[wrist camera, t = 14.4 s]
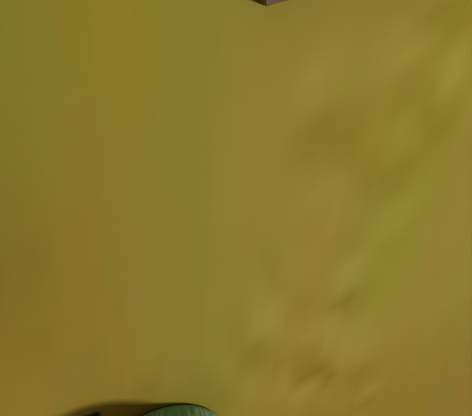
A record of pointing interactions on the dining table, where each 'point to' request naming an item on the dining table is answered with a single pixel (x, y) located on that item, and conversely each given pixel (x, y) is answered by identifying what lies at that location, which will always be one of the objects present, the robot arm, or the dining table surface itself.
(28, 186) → the dining table surface
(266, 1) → the board
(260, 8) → the dining table surface
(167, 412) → the ramekin
